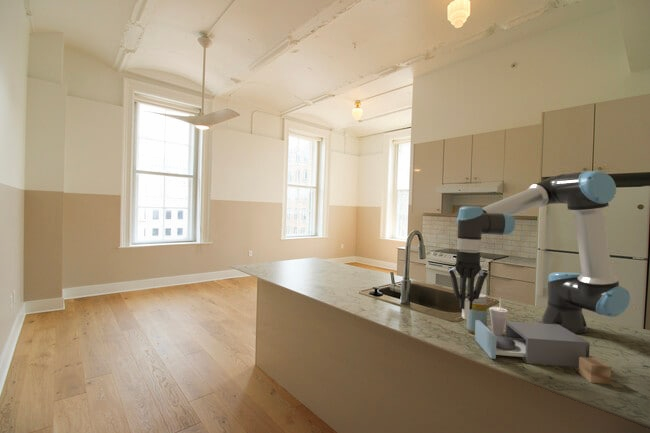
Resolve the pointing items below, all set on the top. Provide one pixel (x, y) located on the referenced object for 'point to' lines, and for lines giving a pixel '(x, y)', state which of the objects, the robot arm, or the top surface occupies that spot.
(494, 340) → the light blue drawer
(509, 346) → the disc
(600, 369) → the block
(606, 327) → the top surface
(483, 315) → the bottle
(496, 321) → the smoothie
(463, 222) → the robot arm
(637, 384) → the top surface
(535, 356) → the housing
